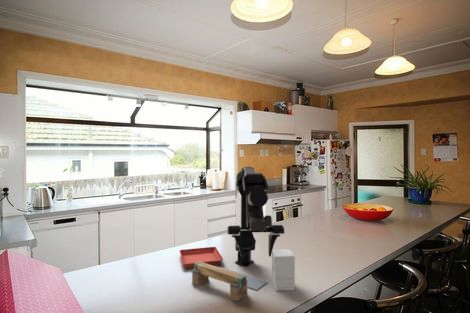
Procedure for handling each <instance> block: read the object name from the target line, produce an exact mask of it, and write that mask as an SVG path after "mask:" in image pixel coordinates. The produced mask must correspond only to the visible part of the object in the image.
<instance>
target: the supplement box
mask: <svg viewBox="0 0 470 313" xmlns="http://www.w3.org/2000/svg"><path fill="white" fill-rule="evenodd" d="M295 258H296V256H295V255H294V253H293V252H292V250H291V249H273V250H272V253H271V283H272V285H273V288H274V290H275V291H277V292H278V291H279V292H280V291H295V290H296V288H295V287H296V286H295V285H296V283H295V281H296V280H295V279H296V276H295V275H296V274H295V273H296V272H295V271H296V270H295V269H296V268H295V267H296V266H295V265H296V262H295V261H296V259H295Z"/></svg>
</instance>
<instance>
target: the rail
mask: <svg viewBox="0 0 470 313" xmlns="http://www.w3.org/2000/svg"><path fill="white" fill-rule="evenodd" d="M219 267H220V266H217V265H215V266H212V265H209V264H206V263H203V262H200V261H199V262H197V263H195V264H194V268H193V270H194V269H195V270H198V271H200V274H202V275H205V276H208V277H209V278H212V279H214V280H217V281H220V282H223V283H225V284H229V285H230V283H232V282H233V283H236V284H239V288H242V287H244V286H245V285H246V276H245V275H246V274H245V275H241V274H242V273H241V274H238V273H239V272H238V273H235V272H236V271H235V272H232V271H233V270H232V271H228V270H225V269H226V268H225V269H222V268H223V267H222V268H219Z"/></svg>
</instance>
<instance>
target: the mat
mask: <svg viewBox="0 0 470 313" xmlns="http://www.w3.org/2000/svg"><path fill="white" fill-rule="evenodd" d="M218 267H219V268H222V269H225V270H228V271H232V272H235V273H238V274H241V275H245V276H246V279H247V289H250V290H253V291H259V290H260V289H261V288H263V287H264V286H265V285H266V284H267V283H268V281H266V280H263V279H261V278H257V277H254V276H250V275H248V274H244V273H241V272H238V271H235V270H231V269H228V268H225V267H222V266H218Z"/></svg>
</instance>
